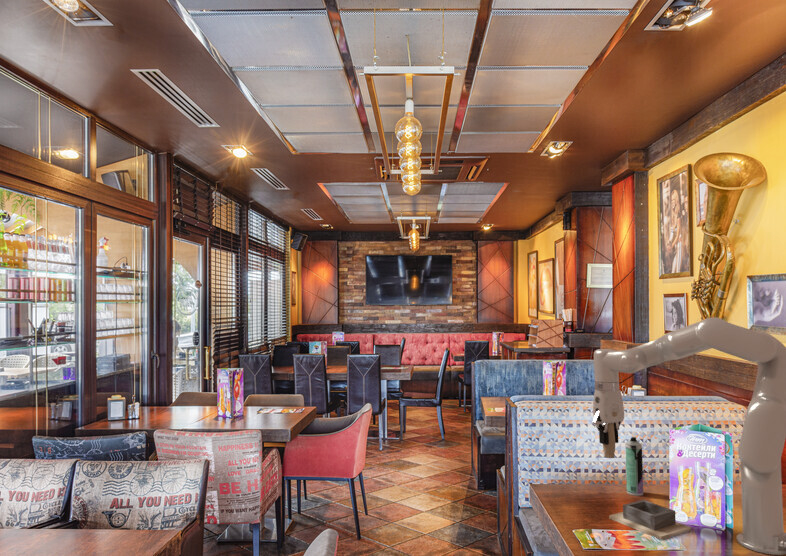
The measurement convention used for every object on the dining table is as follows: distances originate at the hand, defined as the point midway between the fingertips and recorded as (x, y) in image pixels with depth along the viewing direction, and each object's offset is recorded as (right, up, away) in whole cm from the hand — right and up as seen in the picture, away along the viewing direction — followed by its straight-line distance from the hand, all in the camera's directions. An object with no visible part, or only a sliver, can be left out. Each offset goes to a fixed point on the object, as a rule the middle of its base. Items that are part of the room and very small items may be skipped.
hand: (609, 442), depth 176 cm
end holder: (+8, -22, -10) cm, 26 cm away
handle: (0, -5, 0) cm, 5 cm away
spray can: (+17, -24, +18) cm, 34 cm away
